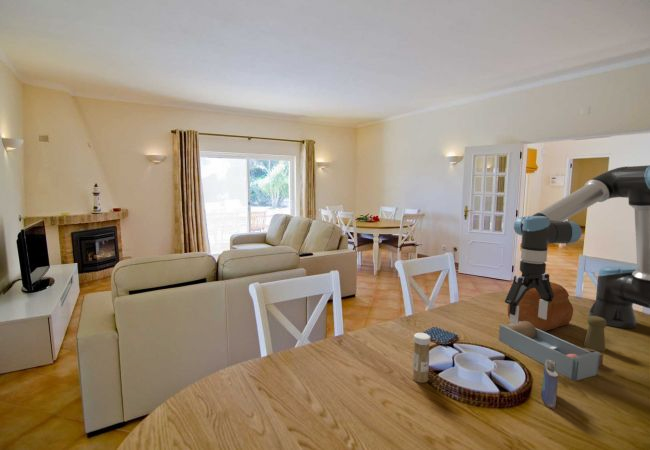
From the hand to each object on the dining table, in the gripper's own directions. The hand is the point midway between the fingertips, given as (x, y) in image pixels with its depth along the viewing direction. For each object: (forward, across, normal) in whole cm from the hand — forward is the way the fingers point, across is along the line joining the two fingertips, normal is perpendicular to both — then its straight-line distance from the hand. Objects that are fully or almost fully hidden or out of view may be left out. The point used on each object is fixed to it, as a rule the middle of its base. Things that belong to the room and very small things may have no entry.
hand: (528, 320), depth 117 cm
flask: (+10, +20, +23) cm, 32 cm away
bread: (+10, -24, -14) cm, 30 cm away
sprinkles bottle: (+10, +47, +4) cm, 48 cm away
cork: (+10, -23, +8) cm, 26 cm away
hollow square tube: (+10, -11, +15) cm, 21 cm away
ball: (+7, 0, +16) cm, 18 cm away
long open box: (+10, 0, +6) cm, 12 cm away
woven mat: (+10, +24, -16) cm, 31 cm away
